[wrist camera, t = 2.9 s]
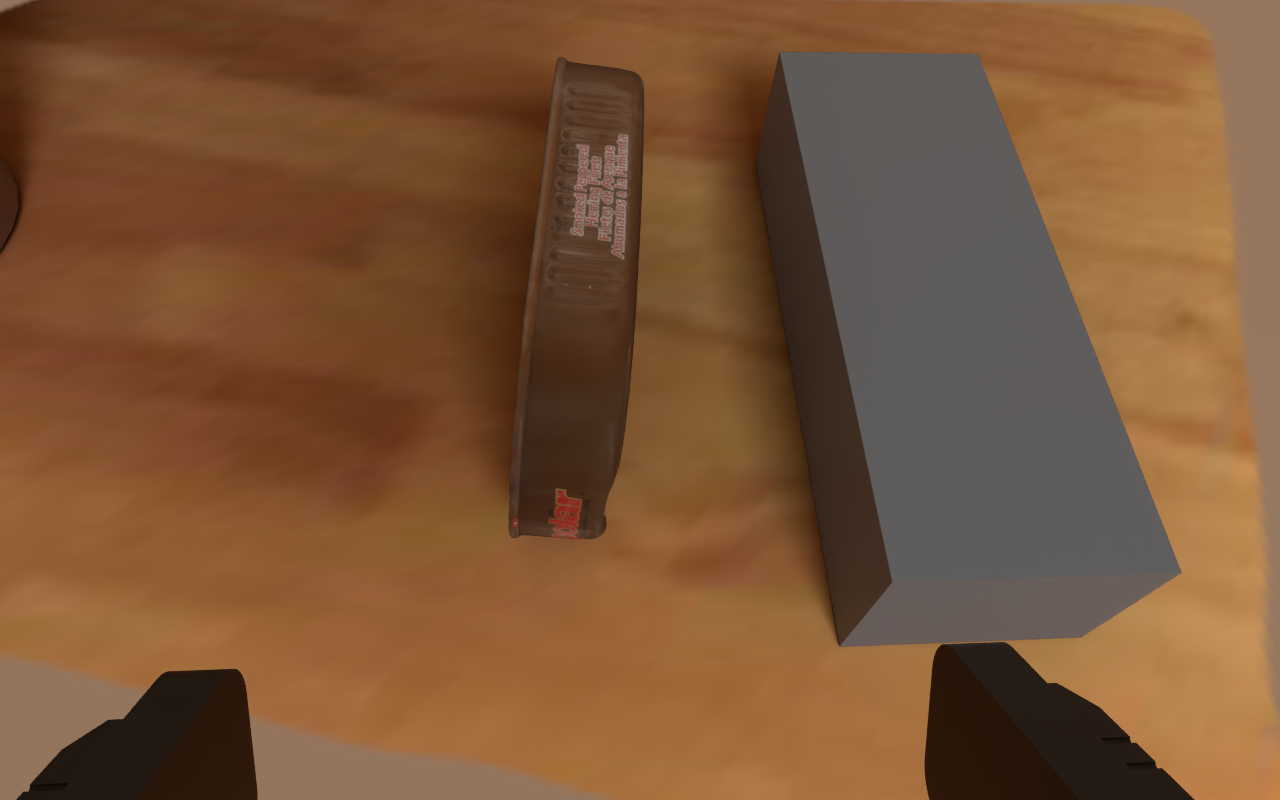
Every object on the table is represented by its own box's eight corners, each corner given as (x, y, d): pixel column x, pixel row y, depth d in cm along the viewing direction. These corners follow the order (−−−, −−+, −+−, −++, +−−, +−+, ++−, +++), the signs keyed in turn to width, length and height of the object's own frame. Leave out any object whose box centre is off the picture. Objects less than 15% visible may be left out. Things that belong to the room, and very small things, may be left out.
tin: (551, 198, 33) (543, -8, 26) (635, 204, 33) (651, -1, 26) (506, 585, 25) (477, 439, 18) (617, 591, 25) (631, 447, 18)
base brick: (839, 646, 25) (892, 582, 21) (755, 161, 35) (779, 51, 31) (1081, 637, 25) (1181, 572, 21) (930, 162, 35) (977, 54, 31)
